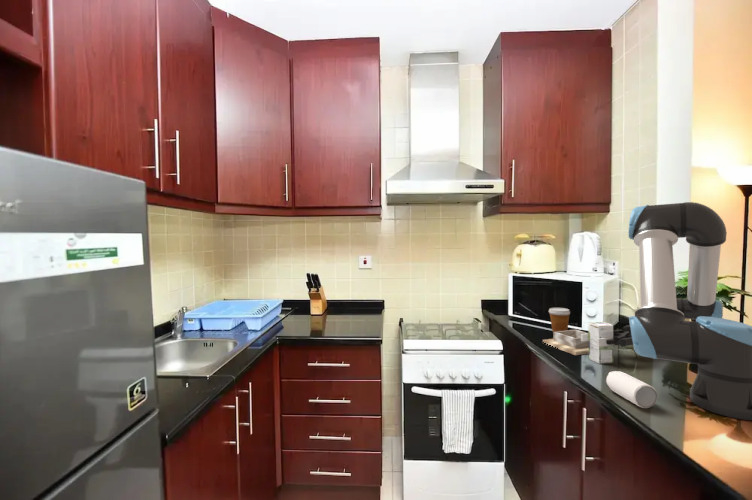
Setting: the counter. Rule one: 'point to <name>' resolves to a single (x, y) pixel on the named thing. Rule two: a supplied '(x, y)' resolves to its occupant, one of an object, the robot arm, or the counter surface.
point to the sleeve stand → (569, 342)
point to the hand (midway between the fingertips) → (589, 340)
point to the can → (632, 389)
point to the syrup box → (596, 332)
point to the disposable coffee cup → (559, 319)
